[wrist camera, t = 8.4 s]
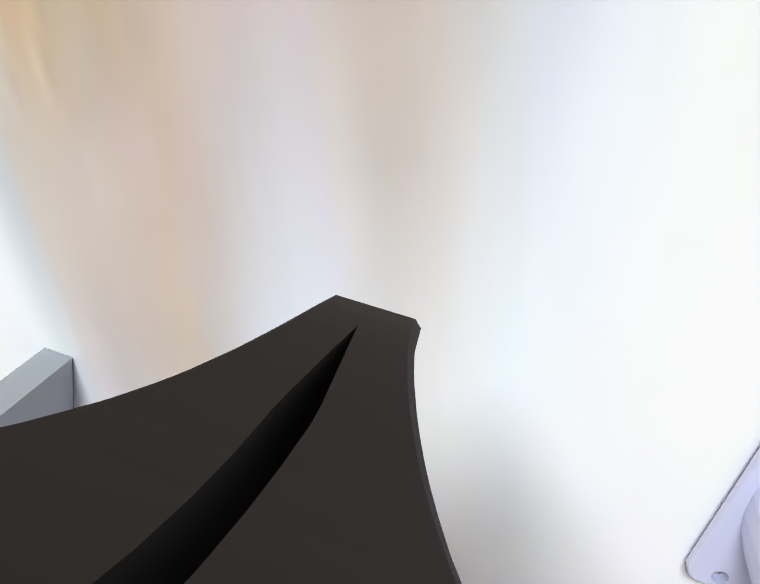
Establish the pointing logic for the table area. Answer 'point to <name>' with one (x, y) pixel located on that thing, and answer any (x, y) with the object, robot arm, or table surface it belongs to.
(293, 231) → the table surface
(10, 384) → the corner bracket
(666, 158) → the table surface
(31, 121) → the table surface
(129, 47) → the table surface
